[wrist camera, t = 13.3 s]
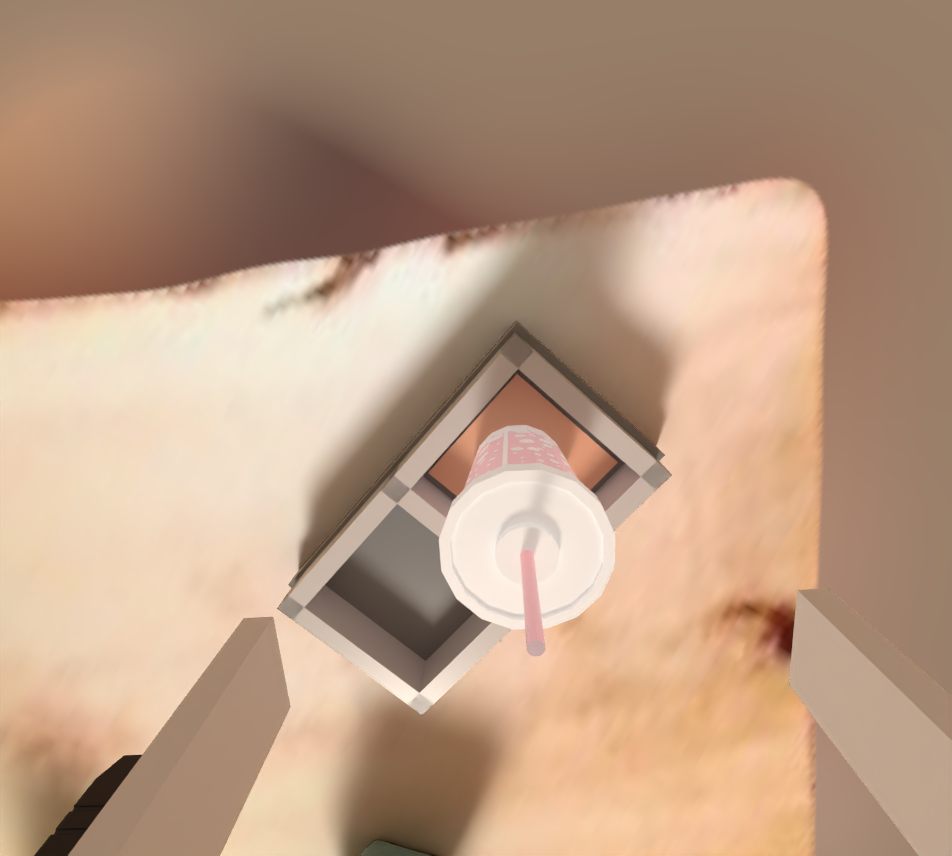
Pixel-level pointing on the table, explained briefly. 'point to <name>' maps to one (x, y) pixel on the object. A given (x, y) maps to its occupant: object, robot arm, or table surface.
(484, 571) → the beverage cup
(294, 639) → the table surface
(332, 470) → the table surface
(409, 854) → the flower pot
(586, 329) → the table surface
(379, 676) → the divided tray
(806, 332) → the table surface
